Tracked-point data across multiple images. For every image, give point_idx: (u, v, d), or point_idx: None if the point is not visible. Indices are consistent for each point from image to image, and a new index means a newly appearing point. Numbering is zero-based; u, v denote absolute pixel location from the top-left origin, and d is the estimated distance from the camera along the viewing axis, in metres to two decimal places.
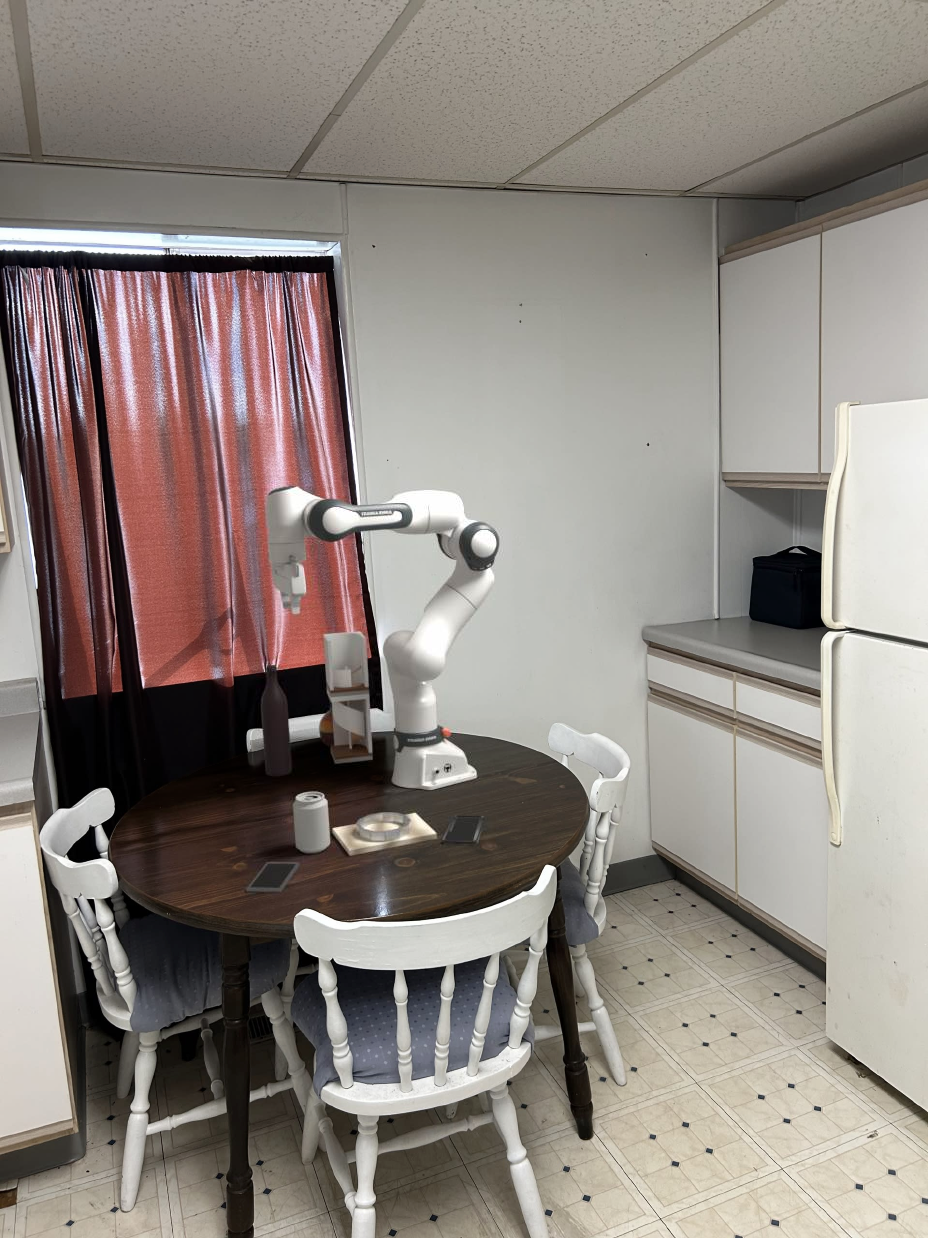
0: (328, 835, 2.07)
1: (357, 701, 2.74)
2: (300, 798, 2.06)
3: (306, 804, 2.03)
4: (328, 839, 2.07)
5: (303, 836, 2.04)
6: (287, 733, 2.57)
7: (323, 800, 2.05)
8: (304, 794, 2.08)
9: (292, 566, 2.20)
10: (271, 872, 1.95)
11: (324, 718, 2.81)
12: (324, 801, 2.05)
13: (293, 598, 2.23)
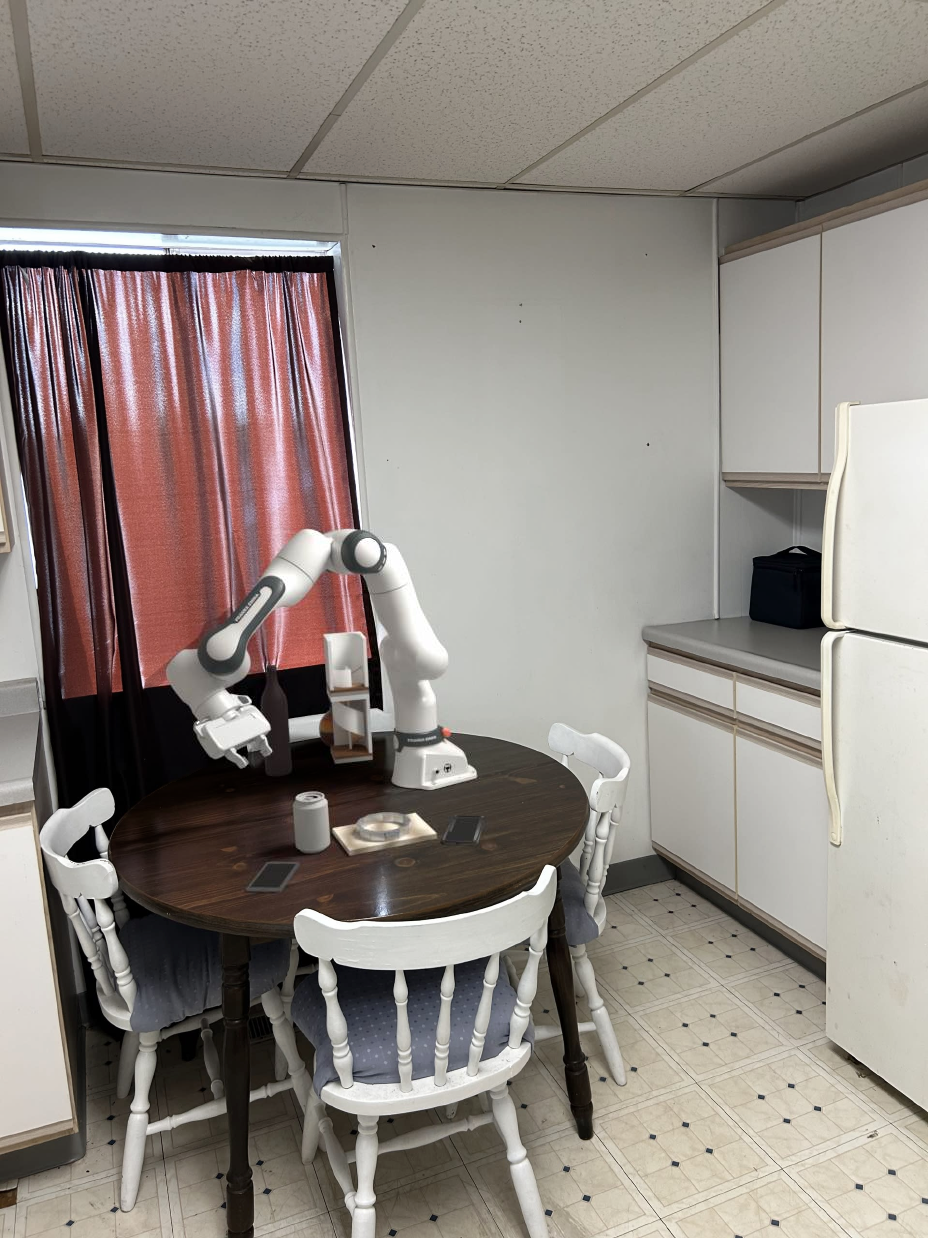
0: (328, 835, 2.07)
1: (357, 701, 2.74)
2: (300, 798, 2.06)
3: (306, 804, 2.03)
4: (328, 839, 2.07)
5: (303, 836, 2.04)
6: (287, 733, 2.57)
7: (323, 800, 2.05)
8: (304, 794, 2.08)
9: None
10: (271, 872, 1.95)
11: (324, 718, 2.81)
12: (324, 801, 2.06)
13: (227, 756, 2.05)
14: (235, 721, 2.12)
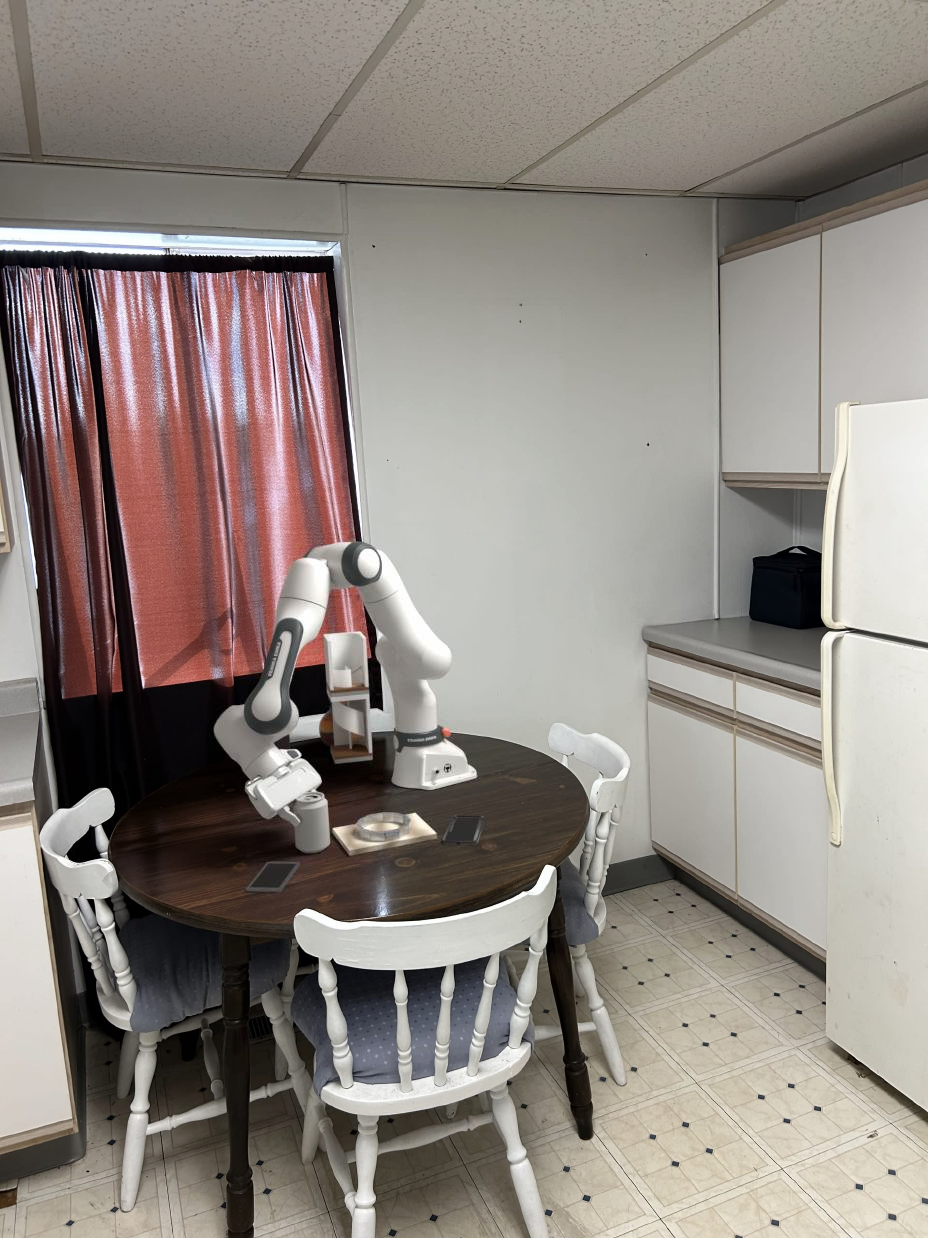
0: (328, 835, 2.07)
1: (357, 701, 2.74)
2: (300, 798, 2.06)
3: (306, 804, 2.03)
4: (328, 839, 2.07)
5: (303, 836, 2.04)
6: None
7: (323, 800, 2.05)
8: (304, 794, 2.08)
9: None
10: (271, 872, 1.95)
11: (324, 718, 2.81)
12: (324, 801, 2.06)
13: (280, 815, 2.02)
14: (286, 777, 2.08)
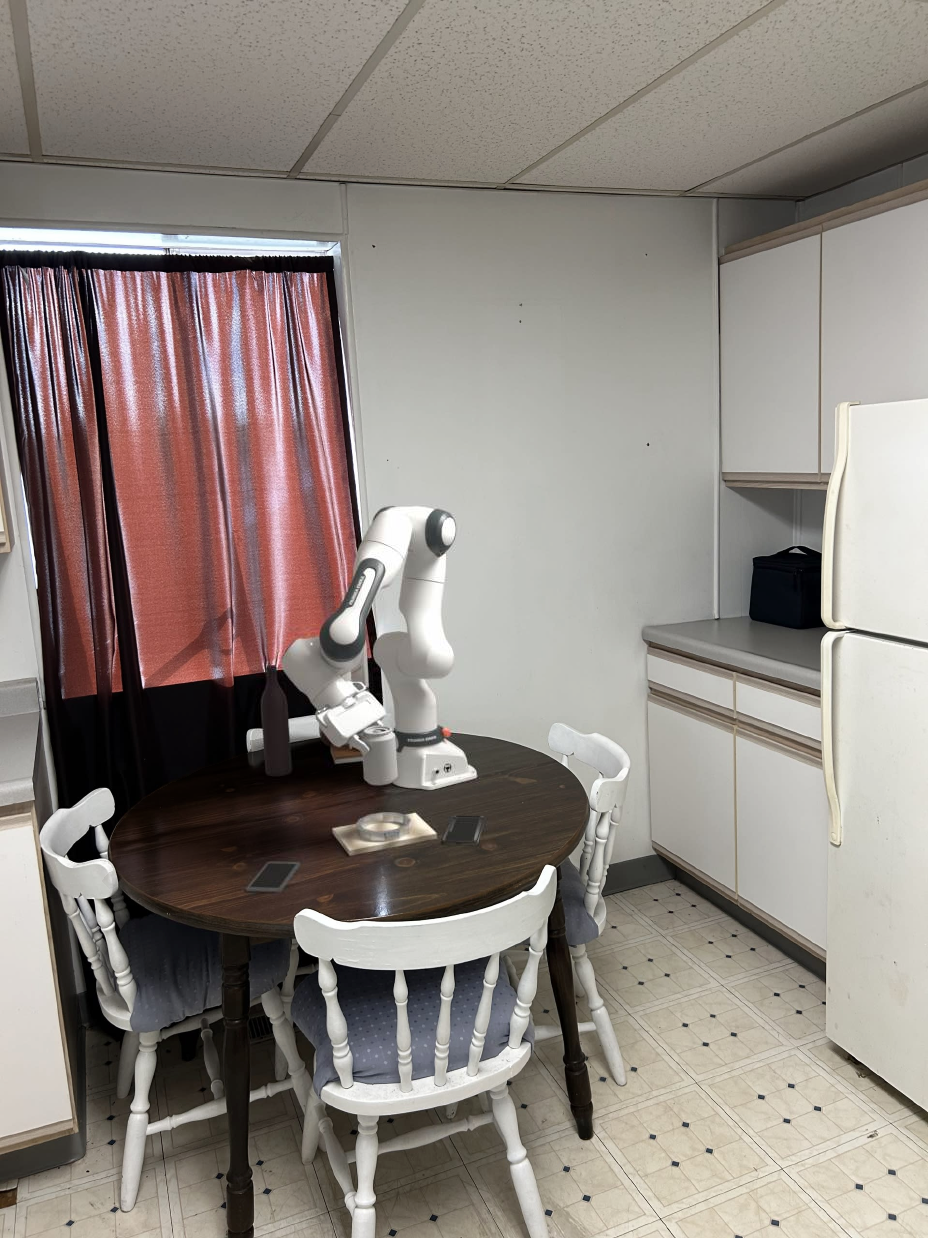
0: (396, 767, 2.10)
1: None
2: (368, 731, 2.09)
3: (375, 736, 2.06)
4: (396, 772, 2.10)
5: (372, 768, 2.07)
6: (287, 733, 2.57)
7: (391, 733, 2.09)
8: (371, 728, 2.11)
9: None
10: (271, 872, 1.95)
11: None
12: (392, 734, 2.09)
13: (350, 743, 2.05)
14: (353, 708, 2.11)
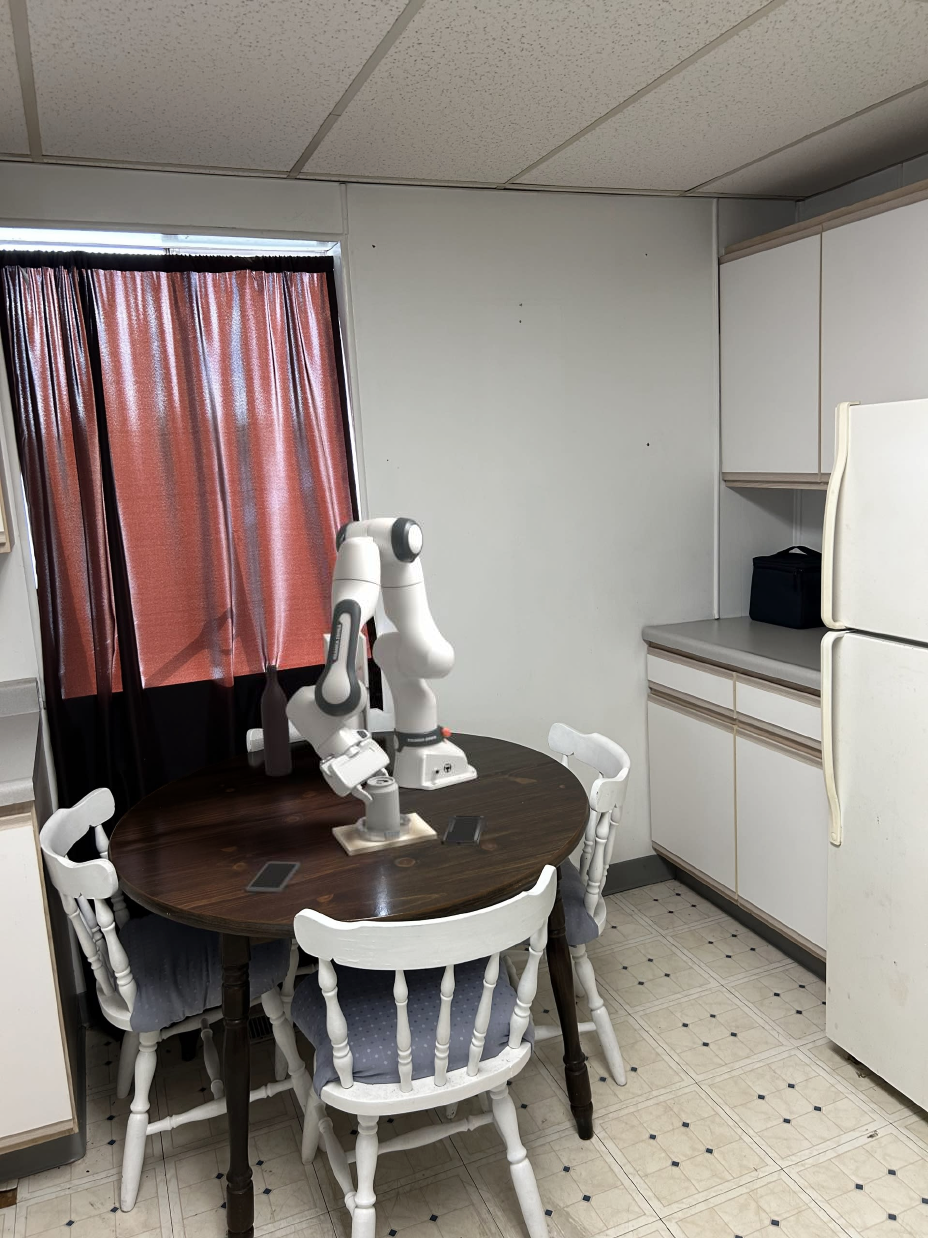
0: (399, 818, 2.12)
1: None
2: (371, 782, 2.11)
3: (379, 788, 2.08)
4: (399, 822, 2.12)
5: (375, 819, 2.09)
6: (287, 733, 2.57)
7: (394, 784, 2.10)
8: (374, 778, 2.13)
9: None
10: (271, 872, 1.95)
11: None
12: (395, 785, 2.10)
13: (353, 793, 2.06)
14: (357, 757, 2.13)
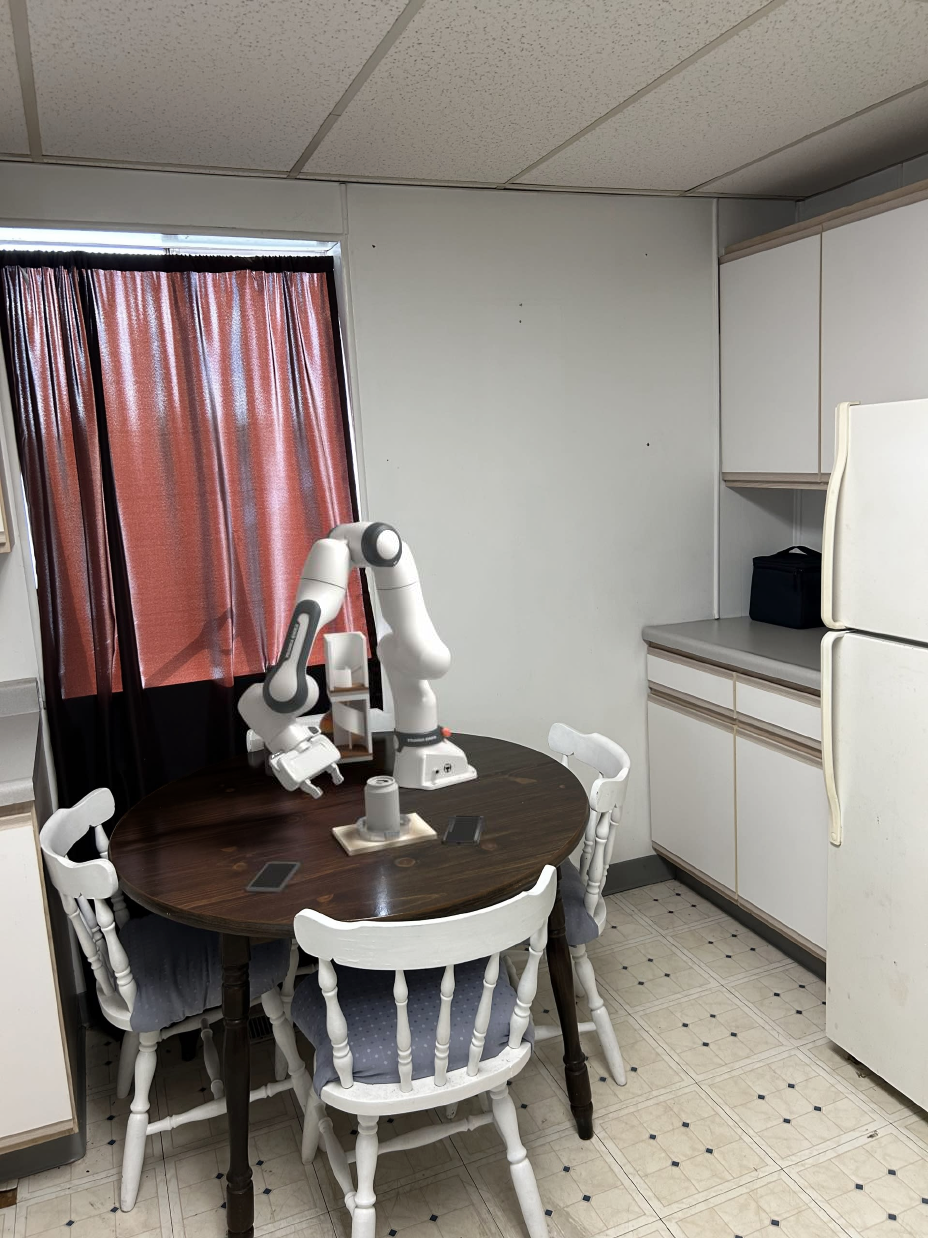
0: (399, 818, 2.12)
1: (357, 701, 2.74)
2: (371, 782, 2.11)
3: (379, 788, 2.08)
4: (399, 822, 2.12)
5: (375, 819, 2.09)
6: None
7: (394, 784, 2.10)
8: (374, 778, 2.13)
9: None
10: (271, 872, 1.95)
11: (324, 718, 2.81)
12: (395, 785, 2.10)
13: (302, 787, 2.11)
14: (307, 752, 2.18)
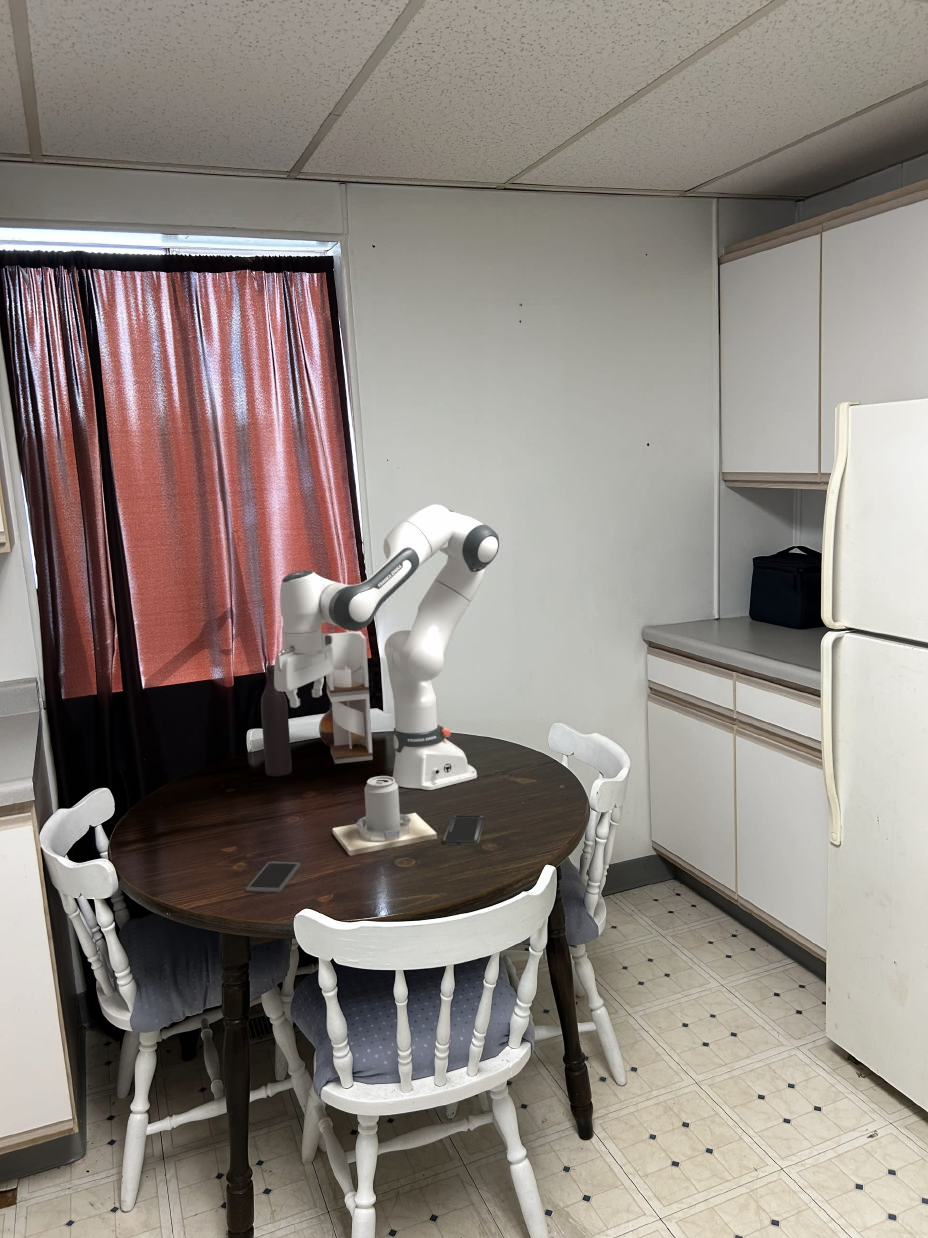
0: (399, 818, 2.12)
1: (357, 701, 2.74)
2: (371, 782, 2.11)
3: (379, 788, 2.08)
4: (399, 822, 2.12)
5: (375, 819, 2.09)
6: (287, 733, 2.57)
7: (394, 784, 2.10)
8: (374, 778, 2.13)
9: None
10: (272, 872, 1.95)
11: (324, 718, 2.81)
12: (395, 785, 2.10)
13: (287, 691, 2.12)
14: (310, 659, 2.17)
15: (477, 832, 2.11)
